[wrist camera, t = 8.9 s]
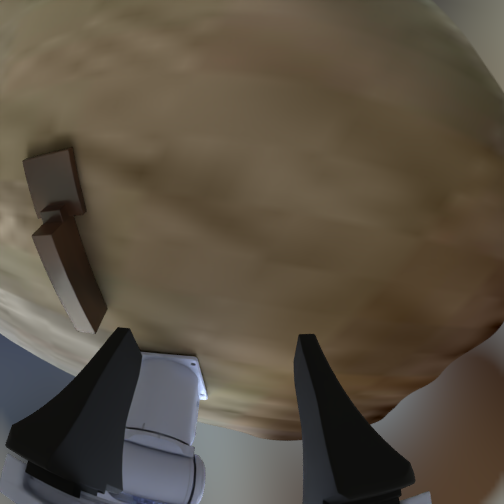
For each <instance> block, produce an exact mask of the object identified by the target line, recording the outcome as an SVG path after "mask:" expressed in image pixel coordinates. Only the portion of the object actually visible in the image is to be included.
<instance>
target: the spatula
mask: <svg viewBox="0 0 504 504" xmlns="http://www.w3.org/2000/svg"><path fill="white" fill-rule="evenodd" d="M22 162H23V166H24V171H25V175H26V179H27V183H28V186H29V190H30V194H31V197H32V201H33V204H34V207H35V211H36V214H37V217H38V219H39V218H42V221H43V225H42V226H41V227H40V228H39V229H38V230H37V231H36V232H35V233H34V234H33V235H32V238H33V241H34V243H35V246H36V248H37V251H38V253H39V256H40V258H41V261H42V263H43V265H44V268H45V270H46V272H47V274H48V276H49V279H50V281H51V283H52V285H53V287H54V289H55V291H56V293H57V295H58V297H59V299H60V301H61V303H62V305H63V307H64V309H65V311H66V312H67V314H68V316H69V318H70V320H71V322H72V323H73V325H74V327H75V329H76V330H77V331H80V332H87V333H93V334H96V332H97V330H98V328H99V326H100V323H101V321H102V319H103V317H104V315H105V313H106V311H107V307H106V304H105V302H104V300H103V297H102V295H101V292H100V290H99V288H98V285H97V283H96V280H95V278H94V275H93V272H92V270H91V267H90V264H89V262H88V259H87V256H86V253H85V250H84V247H83V245H82V242H81V238H80V235H79V232H78V229H77V226H76V223H75V219H74V216H76V215H84V214H85V213H86V207H85V203H84V199H83V195H82V191H81V187H80V182H79V178H78V173H77V168H76V163H75V158H74V153H73V148H72V147H71V148H66V149H62V150H57V151H53V152H49V153H45V154H41V155H37V156H33V157H30V158H26V159H25V160H23V161H22Z"/></svg>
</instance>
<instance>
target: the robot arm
mask: <svg viewBox="0 0 504 504" xmlns="http://www.w3.org/2000/svg"><path fill="white" fill-rule="evenodd" d="M294 381H295V389H296V395H297V402H298V408H299V414H300V421H301V427H302V438H303V504H432V502H431V496H430V492H429V491H427V492H425V493H422V494H419V495H417V496H414V497H411V498H408V499H405V500H401V501H399V497H400V496H401V489H402V488H405V487H407V486H410V485H412V484H414V483H415V476H414V472H413V469H412V467H411V464H410V462H409V461H407V460H406V459H405V458H404V457H403V456H401V455H400V454H399V453H398V452H397V451H395V450H394V449H393V448H392V447H391V446H390V445H389V444H388V443H387V442H386V441H385V440H384V439H383V438H382V437H381V436H380V435H379V434H378V433H377V432H376V431H375V430H374V429H373V428H372V427H371V425H370V424H369V423H368V422H367V421H366V420H365V418H364V417H363V416H362V415H361V413H360V412H359V411H358V410H357V408H356V407H355V406H354V404H353V403H352V401H351V400H350V398H349V397H348V396H347V394H346V392H345V391H344V389H343V388H342V386H341V385H340V383H339V381H338V380H337V378H336V376H335V374H334V373H333V371H332V369H331V367H330V366H329V364H328V362H327V360H326V358H325V356H324V354H323V352H322V350H321V347H320V345H319V343H318V340H317V338H316V336H315V335H314V334H299V336H298V342H297V347H296V352H295V357H294ZM200 399H202V400H206V399H208V395H207V391H206V388H205V384H204V381H203V377H202V374H201V370H200V366H199V362H198V359H197V358H196V357H194V356H182V355H170V354H159V353H149V352H140V350H139V347H138V345H137V343H136V341H135V339H134V337H133V334H132V332H131V330H130V328H120V327H118V328H117V329H116V330H115V331H114V332H113V334H112V335H111V336H110V337H109V339H108V340H107V341H106V342H105V343H104V345H103V346H102V347H101V348H100V350H99V351H98V352H97V353H96V354H95V356H94V357H93V358H92V359H91V360H90V362H89V363H88V364H87V365H86V366H85V367H84V368H83V370H82V371H81V372H80V373H79V374H78V375H77V376H76V377H75V378H74V380H73V381H71V382H70V383H69V384H68V385H67V386H66V387H65V388H64V389H63V390H62V391H61V392H60V393H59V394H58V395H57V396H55V397H54V398H53V399H52V400H50V401H49V402H48V403H47V404H46V405H44V406H43V407H41V408H40V409H39V410H37V411H36V412H34V413H33V414H31V415H29V416H28V417H26V418H24V419H23V420H21V421H19V422H17V423H15V424H13V425H12V427H11V430H10V433H9V436H8V439H7V442H6V447H7V448H9V449H10V450H12V451H13V452H15V453H17V454H18V455H20V456H21V457H23V458H25V459H27V460H28V463H27V464H26V463H24V462H22V461H21V460H19V459H17V458H16V457H14V456H12V455H11V454H9V453H8V454H7V456H6V459H5V463H4V466H3V471H2V474H1V478H0V492H1V493H3V494H4V495H5V496H7V497H8V498H9V499H11V500H12V501H13V502H15V503H16V504H199V502H200V501H201V498H202V496H203V492H204V487H205V476H206V475H205V465H204V463H203V461H202V460H201V458H200V456H198V455H196V454H194V449H195V447H193V446H191V445H192V443H193V441H194V439H195V434H196V425H197V417H198V409H199V401H200Z"/></svg>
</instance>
